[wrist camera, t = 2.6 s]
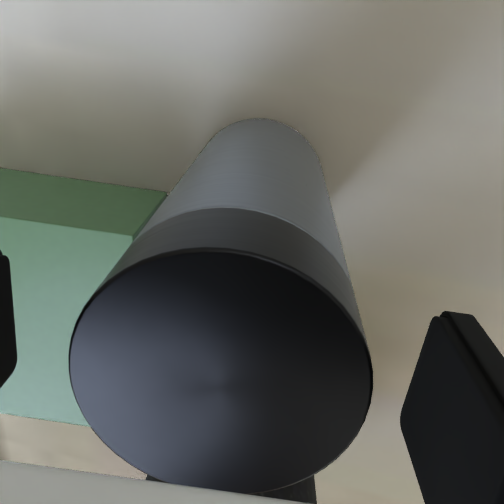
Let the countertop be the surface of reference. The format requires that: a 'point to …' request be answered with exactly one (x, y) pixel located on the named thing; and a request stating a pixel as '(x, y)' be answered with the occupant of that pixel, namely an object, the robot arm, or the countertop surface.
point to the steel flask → (229, 325)
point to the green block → (59, 275)
